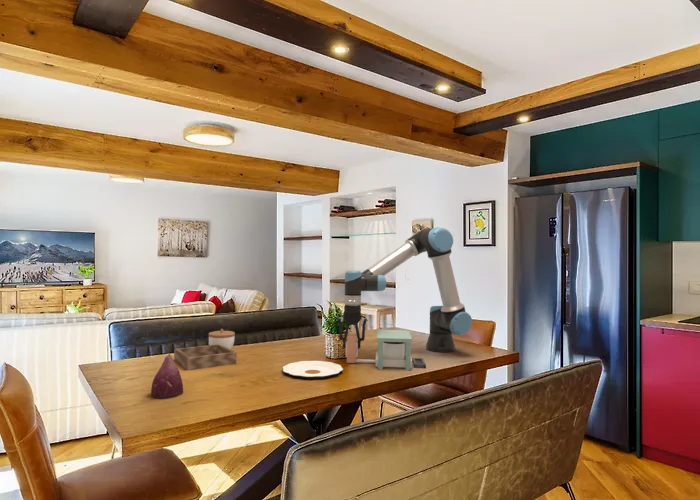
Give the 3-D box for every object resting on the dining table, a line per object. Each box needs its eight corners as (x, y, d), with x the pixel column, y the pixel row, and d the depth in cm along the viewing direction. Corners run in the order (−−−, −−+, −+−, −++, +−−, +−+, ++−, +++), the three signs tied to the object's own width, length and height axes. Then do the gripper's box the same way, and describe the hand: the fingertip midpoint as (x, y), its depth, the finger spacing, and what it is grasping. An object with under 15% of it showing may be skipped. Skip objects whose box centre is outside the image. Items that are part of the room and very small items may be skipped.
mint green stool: (376, 369, 197) (377, 337, 197) (376, 357, 218) (377, 329, 218) (411, 370, 196) (412, 339, 196) (408, 358, 217) (409, 330, 217)
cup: (403, 367, 201) (403, 344, 201) (380, 365, 203) (381, 343, 203) (405, 362, 211) (405, 340, 211) (383, 360, 213) (384, 339, 213)
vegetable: (157, 399, 163) (156, 356, 166) (187, 395, 163) (185, 352, 167) (146, 401, 152) (145, 355, 156) (177, 397, 153) (176, 351, 157)
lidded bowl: (239, 350, 228) (240, 328, 228) (220, 355, 218) (220, 332, 218) (222, 347, 235) (222, 326, 235) (202, 351, 225) (203, 329, 225)
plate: (350, 368, 199) (350, 364, 199) (329, 383, 175) (329, 378, 175) (298, 362, 207) (298, 358, 207) (271, 376, 183) (271, 372, 183)
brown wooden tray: (219, 354, 219) (219, 344, 219) (236, 363, 202) (236, 352, 202) (174, 360, 207) (174, 349, 207) (188, 370, 190) (188, 358, 190)
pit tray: (414, 367, 201) (414, 364, 201) (412, 361, 213) (412, 357, 213) (425, 368, 200) (425, 364, 200) (423, 361, 212) (423, 358, 212)
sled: (345, 365, 201) (346, 338, 201) (348, 357, 217) (348, 331, 217) (412, 367, 199) (412, 340, 199) (409, 359, 215) (410, 333, 215)
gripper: (333, 304, 205) (332, 356, 205) (371, 305, 204) (370, 358, 204) (334, 303, 213) (333, 353, 213) (371, 304, 212) (370, 354, 212)
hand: (351, 355), depth 208 cm, fingers closed on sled, 4 cm apart
